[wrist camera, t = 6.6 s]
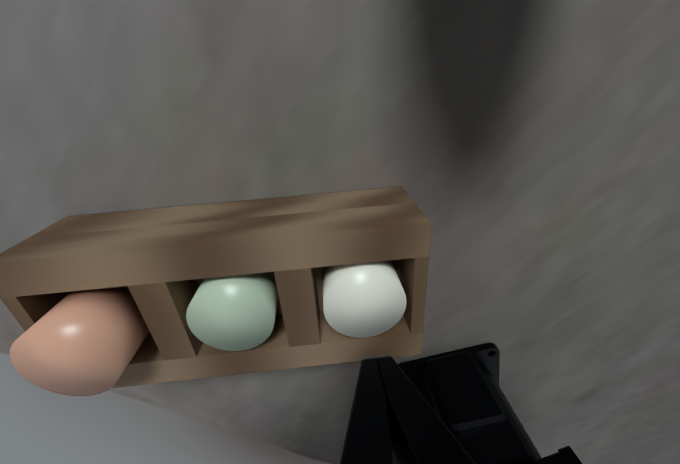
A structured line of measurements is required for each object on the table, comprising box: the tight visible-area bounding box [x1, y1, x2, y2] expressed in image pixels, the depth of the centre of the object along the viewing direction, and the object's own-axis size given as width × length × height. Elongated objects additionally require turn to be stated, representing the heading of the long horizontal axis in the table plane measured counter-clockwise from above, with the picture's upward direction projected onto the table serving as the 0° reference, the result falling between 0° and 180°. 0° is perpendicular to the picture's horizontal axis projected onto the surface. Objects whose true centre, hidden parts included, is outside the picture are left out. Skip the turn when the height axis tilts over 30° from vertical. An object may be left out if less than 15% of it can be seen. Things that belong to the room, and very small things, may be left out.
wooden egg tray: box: [0, 187, 431, 388], centre depth 13 cm, size 15×6×4 cm, turn 94°
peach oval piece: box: [10, 288, 149, 396], centre depth 11 cm, size 3×3×2 cm
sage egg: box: [186, 272, 279, 351], centre depth 12 cm, size 3×3×2 cm
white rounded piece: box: [322, 260, 406, 338], centre depth 12 cm, size 3×3×2 cm
